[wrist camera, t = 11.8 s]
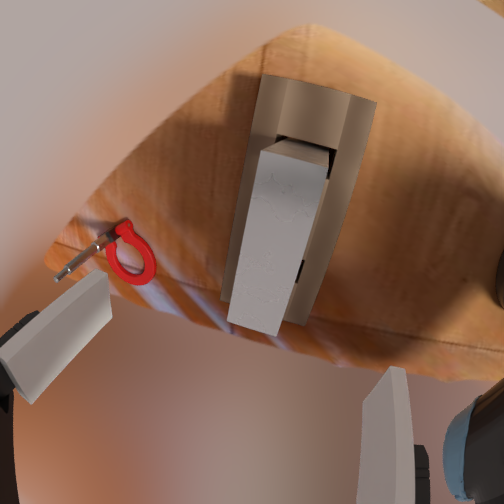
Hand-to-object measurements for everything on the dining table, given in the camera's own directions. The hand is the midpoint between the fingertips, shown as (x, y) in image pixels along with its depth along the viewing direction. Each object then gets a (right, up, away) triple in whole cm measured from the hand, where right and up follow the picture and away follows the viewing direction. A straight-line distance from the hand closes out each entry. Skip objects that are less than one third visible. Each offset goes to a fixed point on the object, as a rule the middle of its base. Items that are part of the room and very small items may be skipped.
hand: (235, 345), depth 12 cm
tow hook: (-16, +4, +28) cm, 32 cm away
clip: (+5, +9, +19) cm, 21 cm away
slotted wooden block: (+5, +9, +19) cm, 21 cm away
